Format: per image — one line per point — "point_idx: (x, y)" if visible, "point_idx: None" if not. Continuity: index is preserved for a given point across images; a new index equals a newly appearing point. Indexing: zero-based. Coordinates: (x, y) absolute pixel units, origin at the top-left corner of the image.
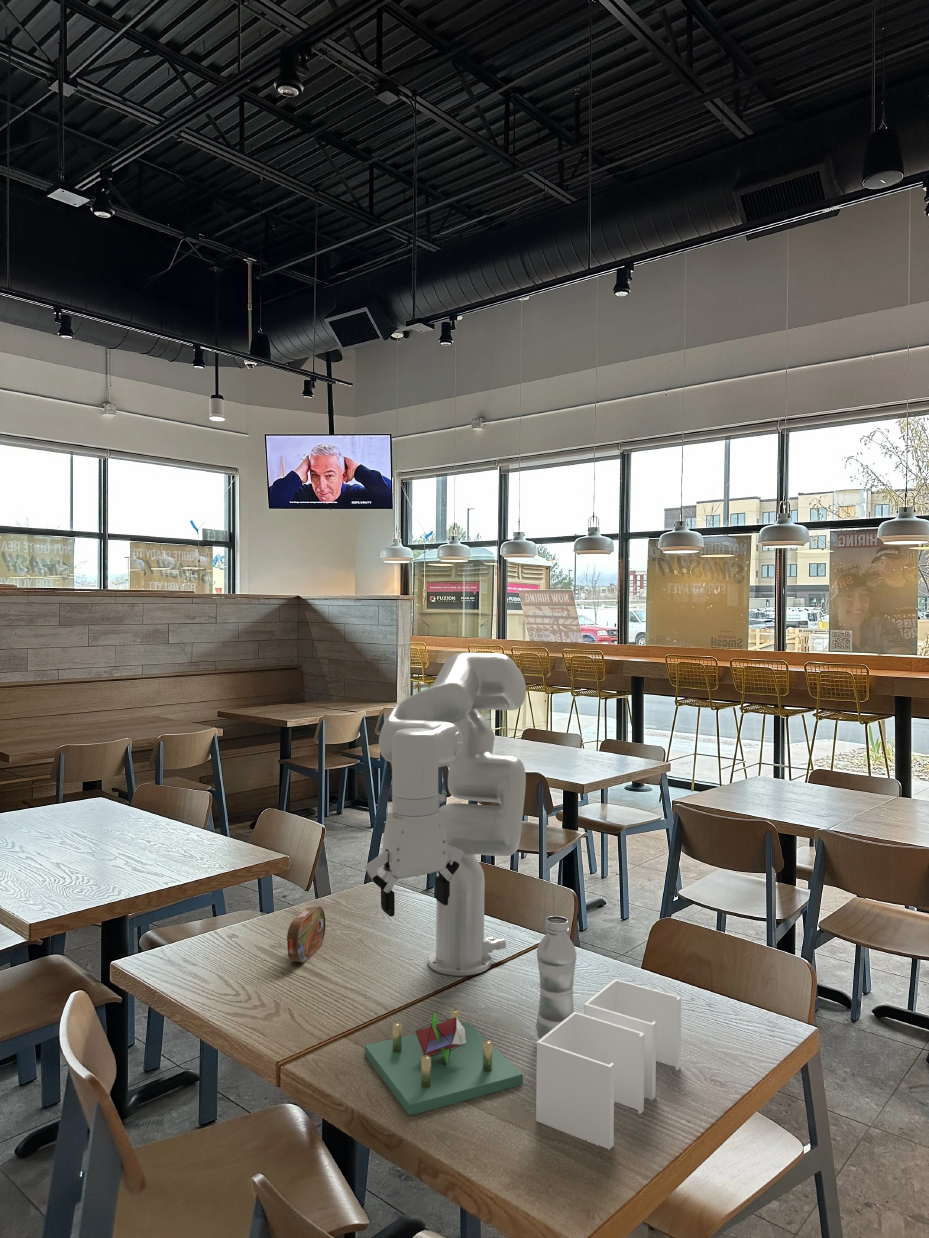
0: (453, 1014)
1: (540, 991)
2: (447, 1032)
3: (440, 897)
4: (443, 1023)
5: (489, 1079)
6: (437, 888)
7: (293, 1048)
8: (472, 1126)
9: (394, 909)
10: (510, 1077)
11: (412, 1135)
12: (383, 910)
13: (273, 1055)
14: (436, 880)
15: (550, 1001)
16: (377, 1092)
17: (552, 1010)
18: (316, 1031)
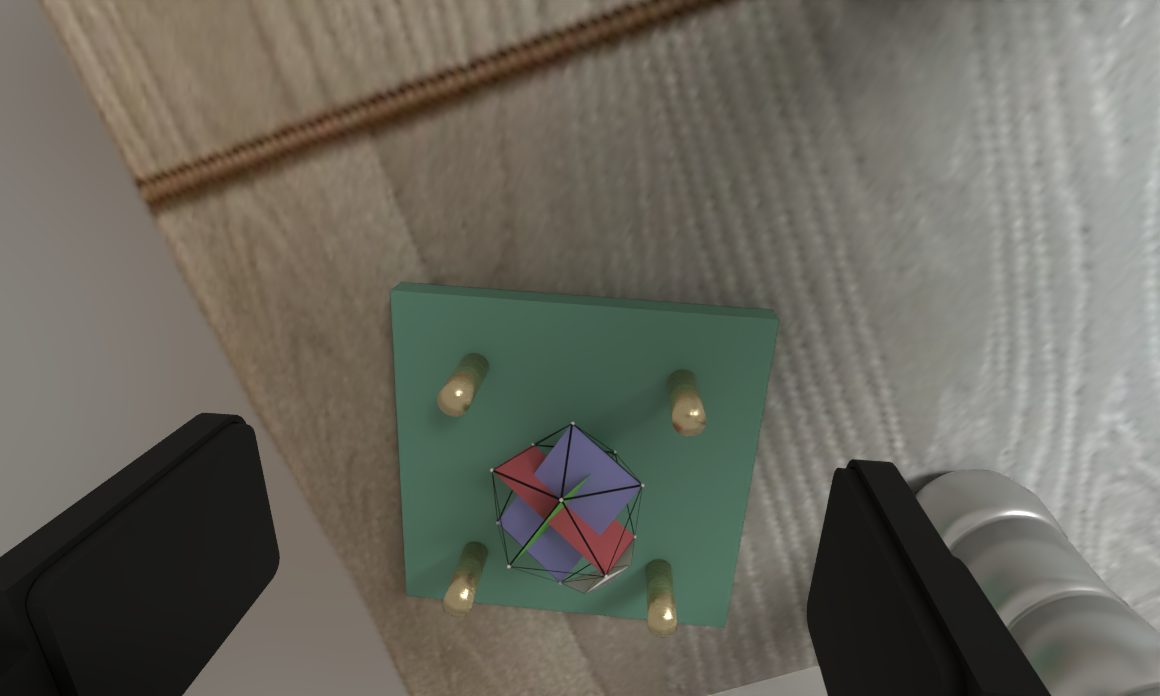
0: (674, 428)
1: (1000, 606)
2: (583, 526)
3: (833, 593)
4: (568, 539)
5: (635, 606)
6: (874, 594)
7: (192, 122)
8: (524, 663)
9: (247, 608)
10: (688, 623)
11: (395, 629)
12: (213, 413)
13: (125, 135)
14: (925, 657)
15: None
16: (375, 466)
17: None
18: (286, 37)
